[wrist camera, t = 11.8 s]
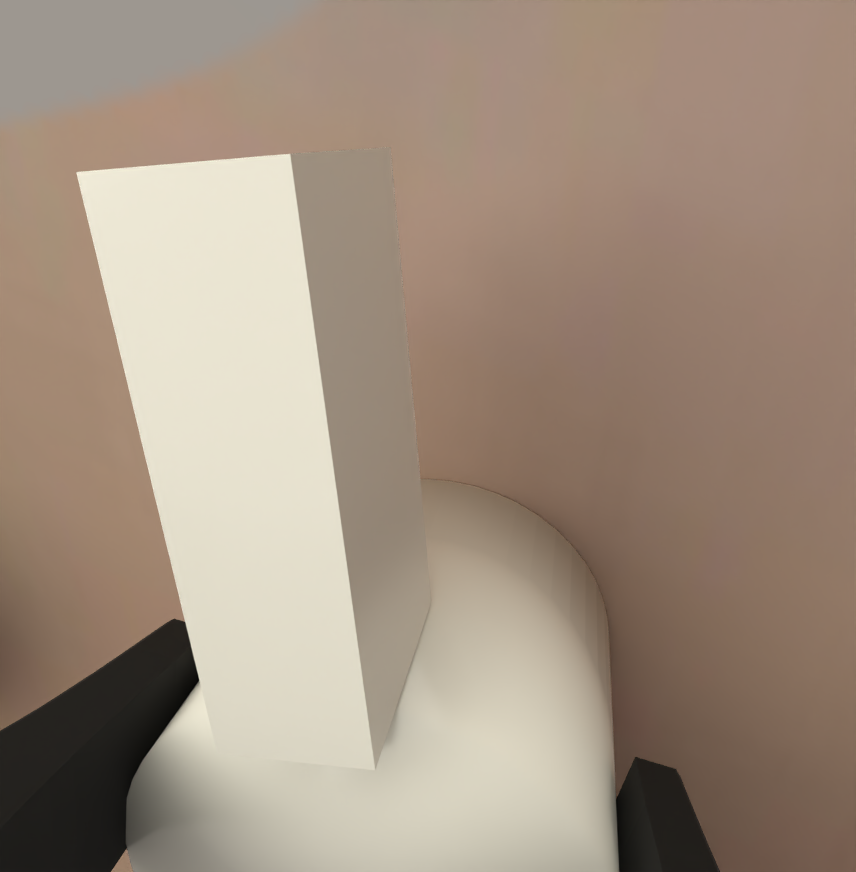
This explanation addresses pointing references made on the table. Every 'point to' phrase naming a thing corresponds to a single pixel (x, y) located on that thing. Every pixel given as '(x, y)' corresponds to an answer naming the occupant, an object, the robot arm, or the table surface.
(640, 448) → the table surface
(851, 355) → the table surface
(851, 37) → the table surface
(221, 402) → the cream egg with arms
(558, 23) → the table surface
